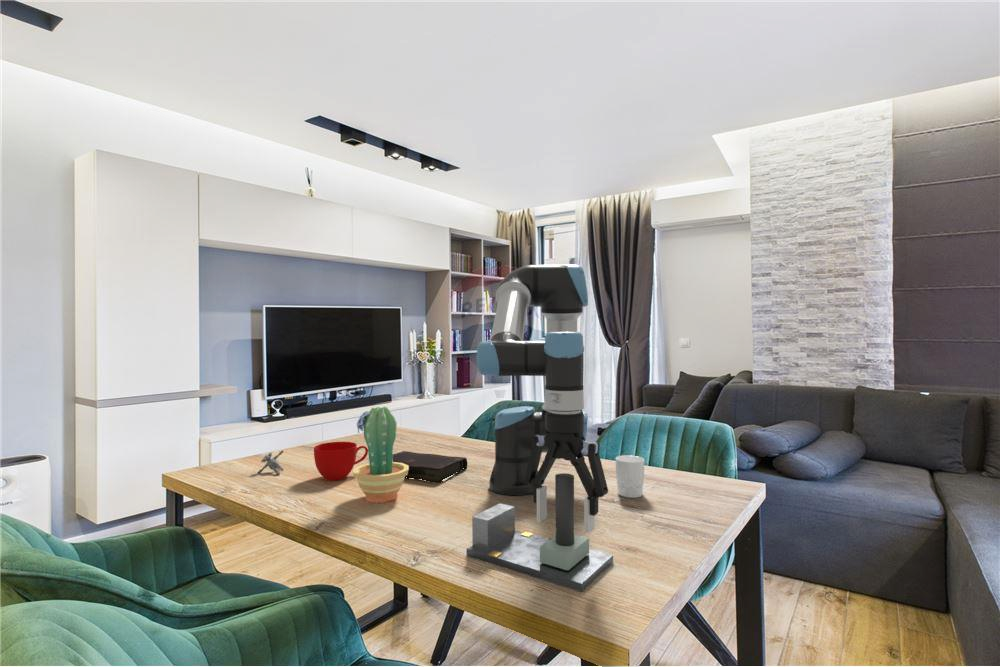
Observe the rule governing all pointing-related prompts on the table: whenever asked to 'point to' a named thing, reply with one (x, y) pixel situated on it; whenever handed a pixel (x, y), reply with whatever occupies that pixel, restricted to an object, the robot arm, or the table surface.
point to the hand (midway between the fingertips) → (564, 525)
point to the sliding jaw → (564, 529)
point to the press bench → (527, 550)
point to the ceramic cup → (336, 459)
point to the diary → (430, 465)
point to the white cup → (630, 475)
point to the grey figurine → (272, 463)
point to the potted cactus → (380, 457)
